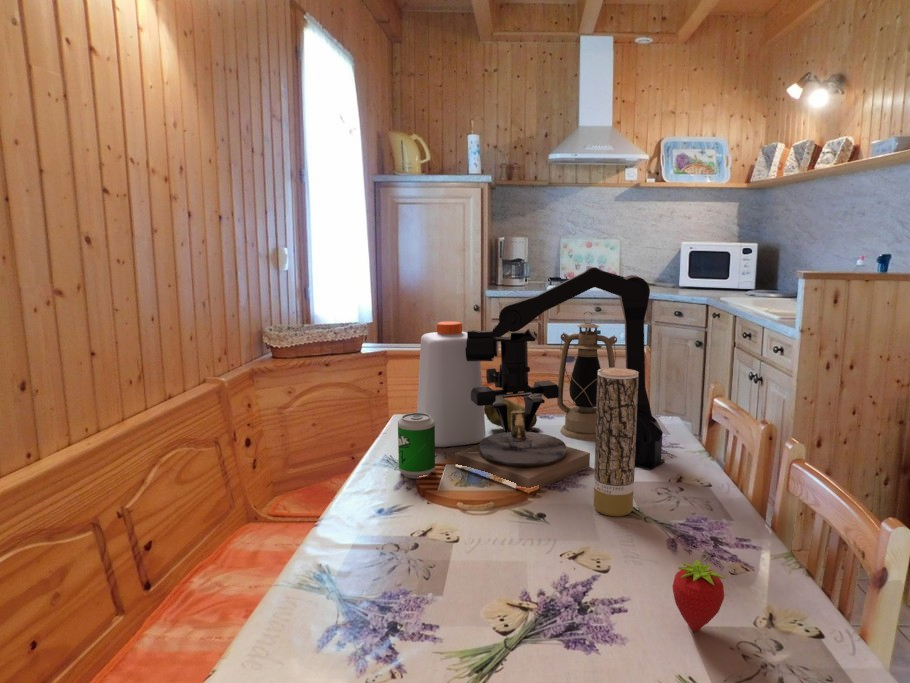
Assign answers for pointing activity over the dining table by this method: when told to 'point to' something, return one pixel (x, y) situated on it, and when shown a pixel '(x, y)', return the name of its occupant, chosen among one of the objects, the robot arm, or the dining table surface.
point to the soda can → (416, 444)
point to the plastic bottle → (450, 386)
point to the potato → (511, 407)
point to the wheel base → (527, 475)
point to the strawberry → (698, 594)
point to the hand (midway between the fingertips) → (516, 430)
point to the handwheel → (522, 446)
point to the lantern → (583, 381)
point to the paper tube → (615, 440)
